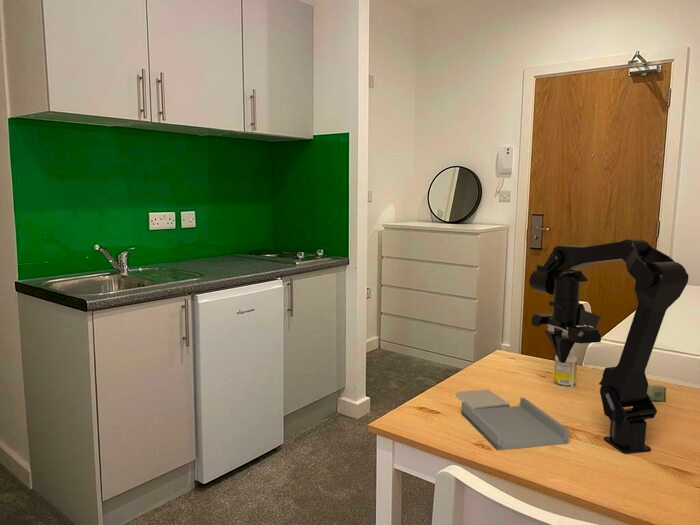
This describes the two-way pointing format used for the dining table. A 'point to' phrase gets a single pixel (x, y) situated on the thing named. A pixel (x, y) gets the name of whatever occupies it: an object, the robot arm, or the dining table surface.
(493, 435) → the slide box
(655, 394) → the medication box
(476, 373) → the dining table surface
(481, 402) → the cover plate
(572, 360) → the supplement bottle
